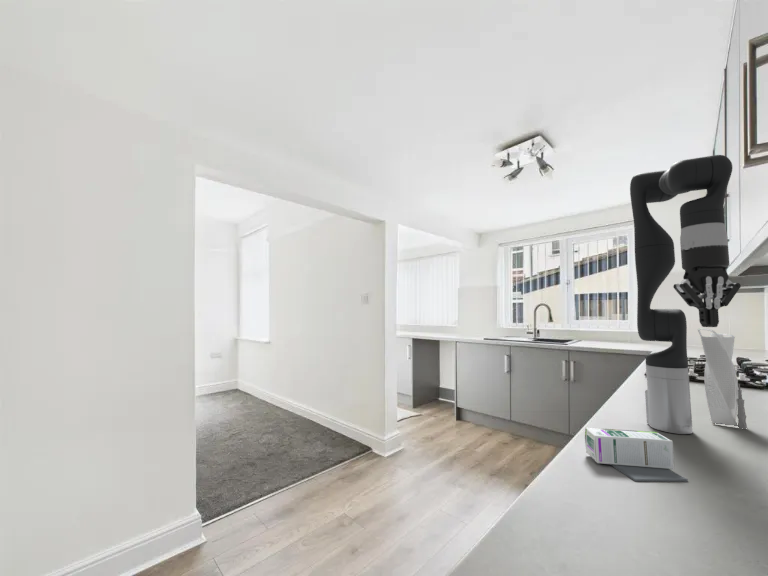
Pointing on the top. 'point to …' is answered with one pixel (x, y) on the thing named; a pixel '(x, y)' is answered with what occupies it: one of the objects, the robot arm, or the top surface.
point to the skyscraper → (722, 380)
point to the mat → (649, 473)
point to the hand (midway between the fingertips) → (709, 326)
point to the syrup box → (629, 448)
